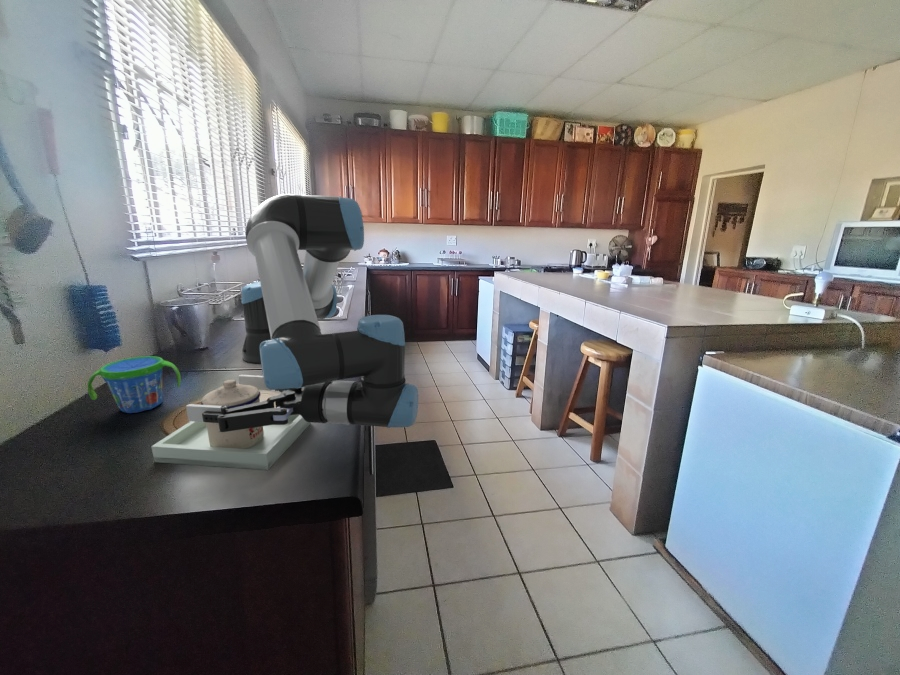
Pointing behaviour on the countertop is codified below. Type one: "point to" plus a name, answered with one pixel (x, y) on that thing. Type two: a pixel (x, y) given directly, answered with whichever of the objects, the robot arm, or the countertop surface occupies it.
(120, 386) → the snack cup
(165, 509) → the countertop surface
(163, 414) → the countertop surface
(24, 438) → the countertop surface
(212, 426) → the teacup with lid
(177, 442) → the sage tray
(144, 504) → the countertop surface
